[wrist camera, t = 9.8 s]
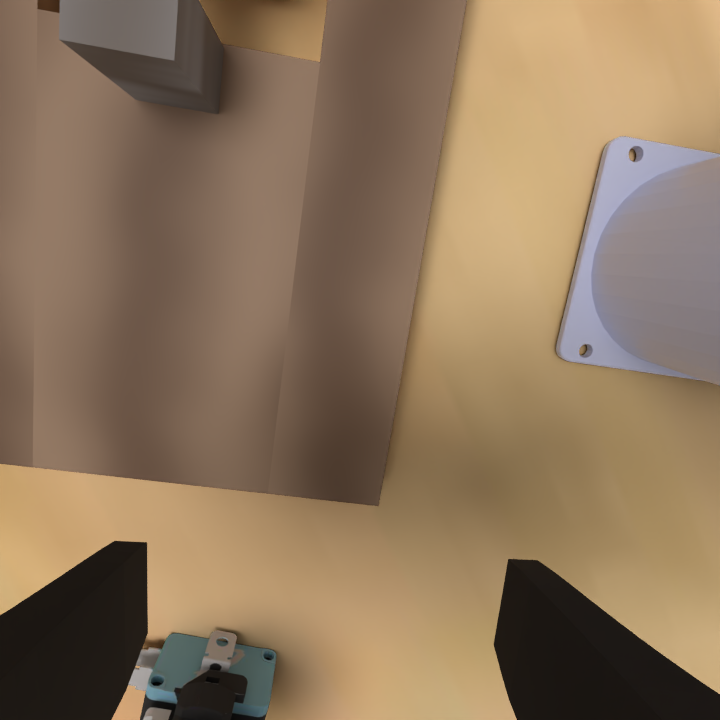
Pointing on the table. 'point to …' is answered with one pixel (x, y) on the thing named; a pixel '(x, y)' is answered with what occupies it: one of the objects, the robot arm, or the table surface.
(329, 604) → the table surface
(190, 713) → the push button
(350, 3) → the slotted shelf
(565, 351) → the robot arm
